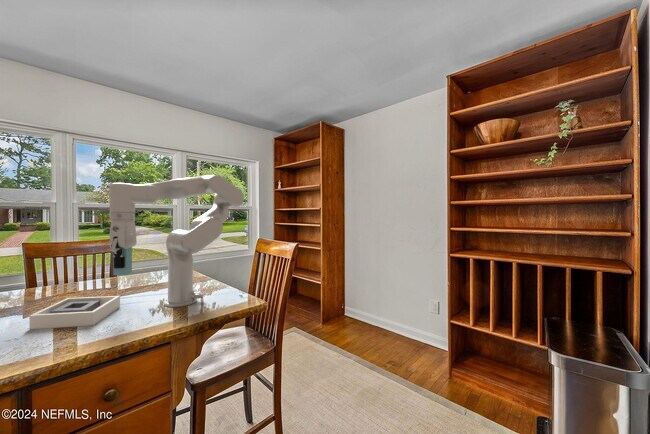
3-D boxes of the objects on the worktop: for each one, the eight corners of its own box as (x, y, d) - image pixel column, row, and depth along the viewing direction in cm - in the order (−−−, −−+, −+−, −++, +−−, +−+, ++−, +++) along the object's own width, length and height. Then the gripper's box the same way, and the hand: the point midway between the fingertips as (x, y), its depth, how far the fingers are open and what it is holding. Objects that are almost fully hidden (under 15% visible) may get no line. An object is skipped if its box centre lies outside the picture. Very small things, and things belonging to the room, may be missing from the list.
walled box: (120, 306, 111) (120, 295, 111) (93, 325, 93) (93, 312, 93) (67, 309, 107) (67, 298, 107) (29, 329, 89) (29, 315, 89)
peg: (131, 272, 103) (131, 245, 102) (126, 274, 99) (126, 247, 98) (119, 272, 102) (119, 246, 101) (113, 275, 98) (113, 247, 97)
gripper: (123, 218, 92) (123, 271, 93) (143, 216, 109) (143, 261, 109) (97, 217, 90) (97, 272, 91) (122, 216, 107) (122, 262, 107)
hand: (122, 266), depth 100 cm, fingers closed on peg, 4 cm apart
